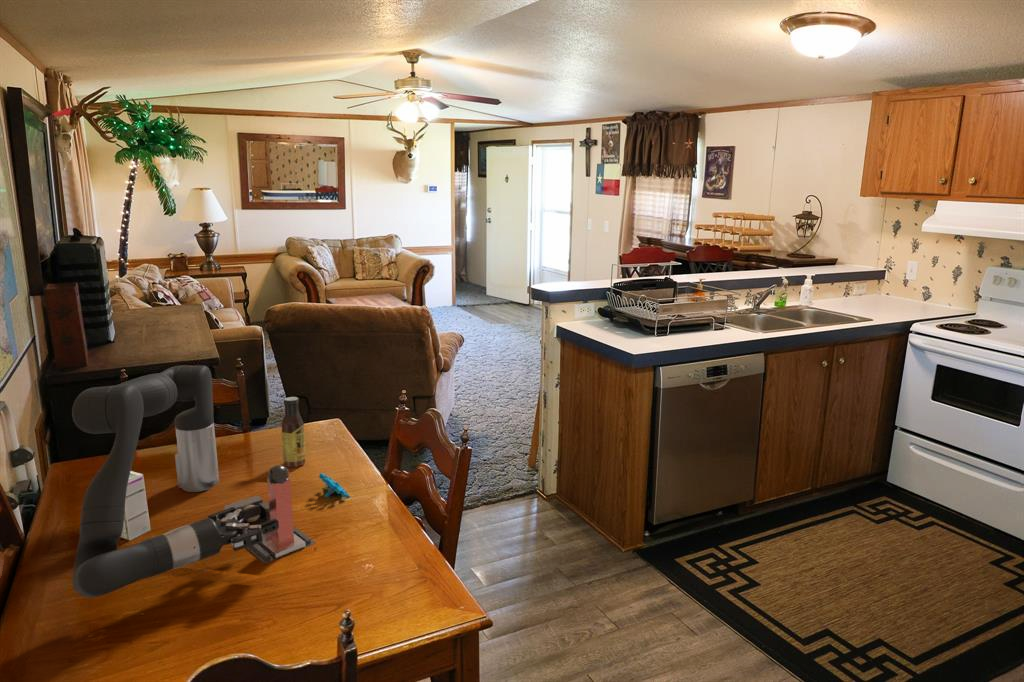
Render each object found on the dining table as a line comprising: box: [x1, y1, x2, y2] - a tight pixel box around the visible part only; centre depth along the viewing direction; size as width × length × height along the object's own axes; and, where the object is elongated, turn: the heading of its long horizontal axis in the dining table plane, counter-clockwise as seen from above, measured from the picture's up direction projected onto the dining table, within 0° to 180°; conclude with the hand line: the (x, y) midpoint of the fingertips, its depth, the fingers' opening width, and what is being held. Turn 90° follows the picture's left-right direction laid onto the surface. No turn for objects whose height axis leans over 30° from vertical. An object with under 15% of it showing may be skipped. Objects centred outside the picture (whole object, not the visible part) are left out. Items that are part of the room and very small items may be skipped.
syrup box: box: [120, 470, 151, 541], centre depth 155 cm, size 6×6×14 cm
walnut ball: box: [245, 505, 260, 522], centre depth 159 cm, size 4×4×4 cm
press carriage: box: [255, 464, 306, 558], centre depth 148 cm, size 10×7×19 cm
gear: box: [318, 472, 351, 499], centre depth 174 cm, size 11×6×10 cm
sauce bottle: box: [281, 396, 306, 468], centre depth 193 cm, size 7×6×20 cm
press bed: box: [224, 495, 317, 564], centre depth 156 cm, size 28×12×5 cm, turn 45°
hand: (268, 516), depth 145 cm, fingers open, 8 cm apart
